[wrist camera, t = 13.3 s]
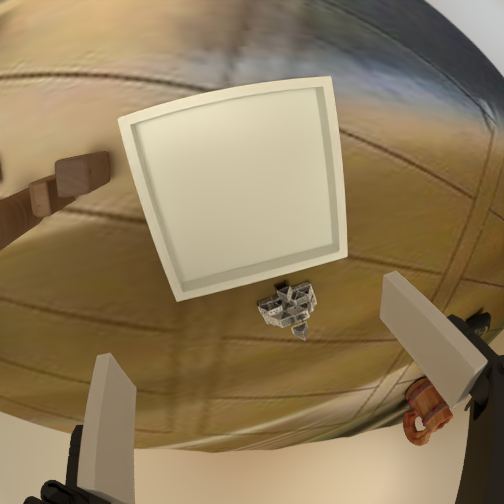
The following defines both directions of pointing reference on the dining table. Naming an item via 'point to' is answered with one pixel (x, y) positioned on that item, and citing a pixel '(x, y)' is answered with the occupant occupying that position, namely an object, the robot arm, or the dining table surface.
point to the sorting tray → (240, 182)
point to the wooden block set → (51, 193)
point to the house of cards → (289, 308)
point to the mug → (425, 411)
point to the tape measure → (480, 324)
